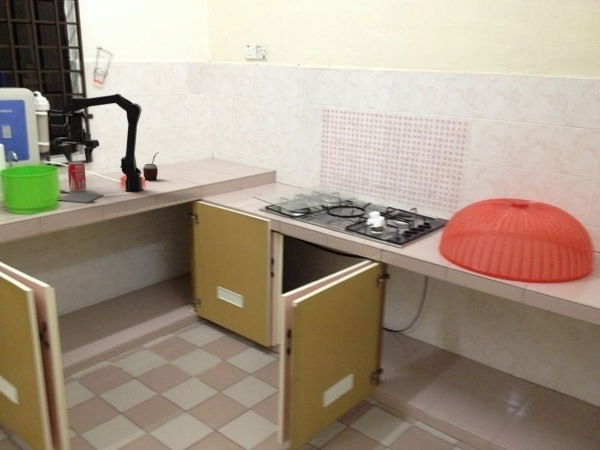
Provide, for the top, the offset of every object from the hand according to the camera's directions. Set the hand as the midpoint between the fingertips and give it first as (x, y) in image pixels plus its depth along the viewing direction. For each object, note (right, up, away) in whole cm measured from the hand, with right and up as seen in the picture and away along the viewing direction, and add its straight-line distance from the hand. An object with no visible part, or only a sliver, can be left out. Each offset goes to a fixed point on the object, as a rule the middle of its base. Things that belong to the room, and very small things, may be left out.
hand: (78, 161), depth 247 cm
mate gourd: (+25, -6, +31) cm, 40 cm away
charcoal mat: (+5, -17, -10) cm, 21 cm away
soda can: (-1, -13, +2) cm, 13 cm away
